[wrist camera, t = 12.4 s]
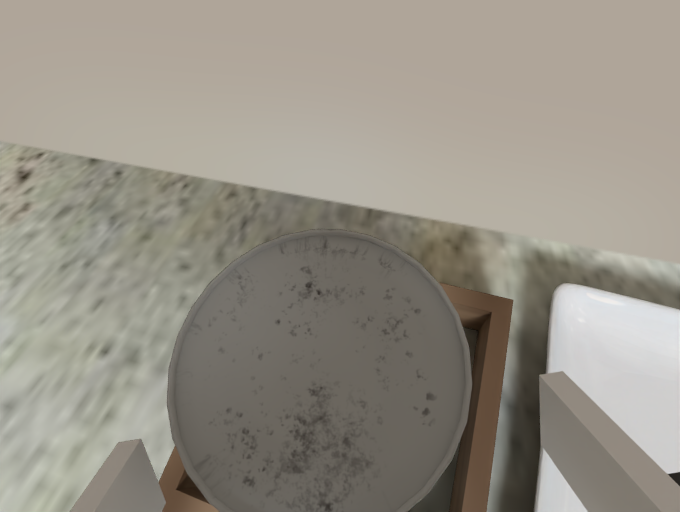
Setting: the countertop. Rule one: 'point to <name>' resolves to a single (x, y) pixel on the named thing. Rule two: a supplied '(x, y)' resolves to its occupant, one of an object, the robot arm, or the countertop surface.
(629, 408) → the salad plate
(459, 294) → the collar
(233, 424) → the grey speckled cylinder
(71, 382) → the countertop surface
